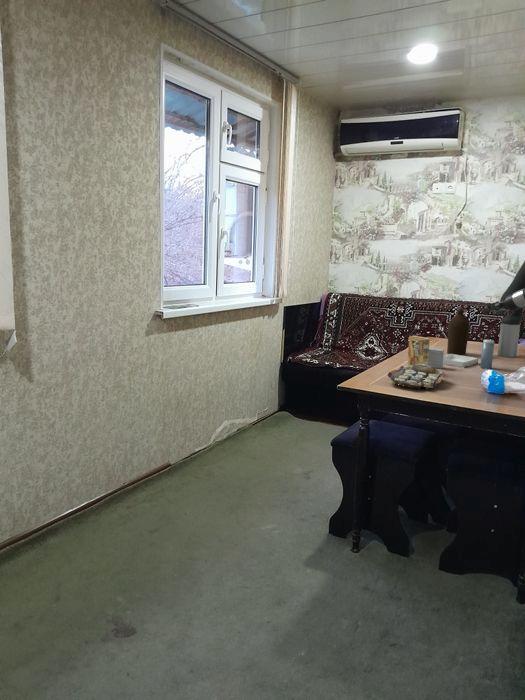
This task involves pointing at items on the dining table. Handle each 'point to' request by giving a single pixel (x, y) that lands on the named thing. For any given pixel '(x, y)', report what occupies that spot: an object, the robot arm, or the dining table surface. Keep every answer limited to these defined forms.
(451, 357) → the tray
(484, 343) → the shaker
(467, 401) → the dining table surface
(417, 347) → the candy box
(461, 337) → the brown bottle
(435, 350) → the medicine box
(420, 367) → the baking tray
